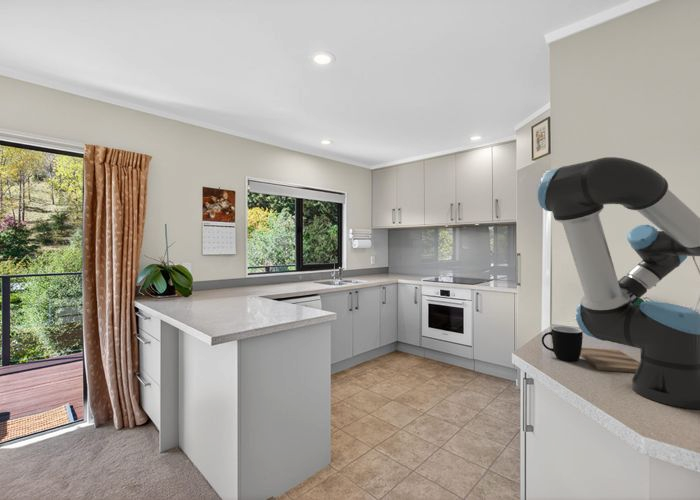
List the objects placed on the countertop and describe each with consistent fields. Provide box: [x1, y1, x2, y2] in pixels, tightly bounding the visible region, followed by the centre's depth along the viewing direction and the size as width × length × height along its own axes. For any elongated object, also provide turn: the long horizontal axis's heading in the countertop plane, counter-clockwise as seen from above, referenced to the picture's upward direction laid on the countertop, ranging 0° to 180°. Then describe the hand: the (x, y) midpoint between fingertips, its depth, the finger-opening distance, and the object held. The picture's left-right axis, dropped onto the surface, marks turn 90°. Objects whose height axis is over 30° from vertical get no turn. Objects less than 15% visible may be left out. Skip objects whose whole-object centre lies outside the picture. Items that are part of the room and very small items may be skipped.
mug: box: [541, 325, 584, 363], centre depth 116 cm, size 12×9×10 cm
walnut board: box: [580, 347, 640, 374], centre depth 112 cm, size 20×14×1 cm
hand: (584, 326), depth 115 cm, fingers open, 13 cm apart
